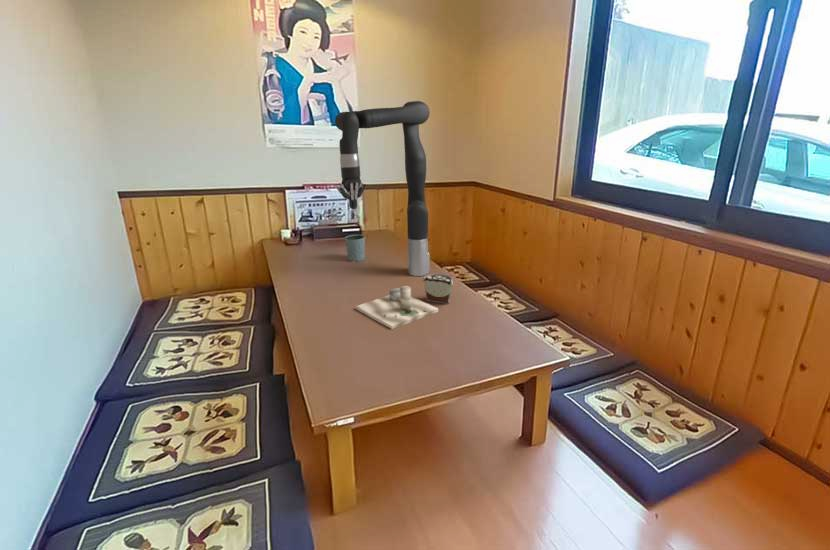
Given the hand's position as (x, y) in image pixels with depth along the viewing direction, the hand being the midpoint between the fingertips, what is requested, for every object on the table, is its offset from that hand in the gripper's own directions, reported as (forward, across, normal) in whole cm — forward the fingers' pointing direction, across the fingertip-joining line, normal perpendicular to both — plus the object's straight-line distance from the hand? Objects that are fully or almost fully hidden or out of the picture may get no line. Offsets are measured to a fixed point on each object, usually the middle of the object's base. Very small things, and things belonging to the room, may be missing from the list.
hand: (353, 208), depth 180 cm
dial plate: (+34, +4, +30) cm, 46 cm away
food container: (+35, -16, +34) cm, 51 cm away
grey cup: (+34, -21, -34) cm, 53 cm away
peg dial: (+33, 0, +30) cm, 44 cm away
